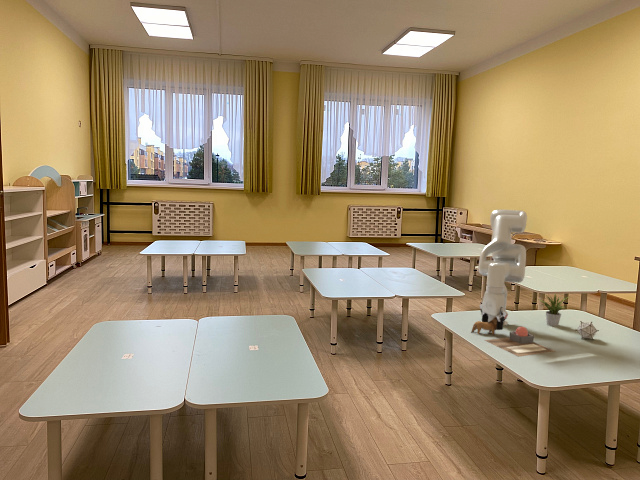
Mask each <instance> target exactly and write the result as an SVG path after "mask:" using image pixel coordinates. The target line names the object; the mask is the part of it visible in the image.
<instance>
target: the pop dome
mask: <svg viewBox="0 0 640 480" xmlns="http://www.w3.org/2000/svg"><path fill="white" fill-rule="evenodd" d="M515 331H516V335H519V336H521V337H523V336H528V333H529V332H528V331H529V330H528V329H527V328H526V327H525V326H518V327H517V328H516V330H515Z"/></svg>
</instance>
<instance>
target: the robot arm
mask: <svg viewBox="0 0 640 480" xmlns="http://www.w3.org/2000/svg"><path fill="white" fill-rule="evenodd" d="M527 221H528V215H527V212H526V211H524V210H516V209H495V210H493V211H492V212H491V213H490V228H491V232H492V235H491V241H490V242H489V243H488V244H487V245H485V246H484V247H483V248H482V250H481V252H480V255H479V261H478V273H479V275H481V276H484V277H487V278H486V286H485V287H486V288H485V291H484V295H483V298H482V303H481V304H479V309H480V315H481V320H480V321H482V322H489V321H491V320H492V319H493V318H494V317H497V319H498V321H497V326H496V329H497V330H496V331H502V330H503V329H504V326H508V324H509V322H508V321H507V320H506V319H507V317H508V315H509V313H508V312H507V310H506V309H507V298H508V297H507V296H508V288H507V286H506V285H505V282H509V283H516V284H517V283H522V282H524V279H525V277H526V276H525V274H526V262H527V261H526V260H527V249H526V247H525V246H524V245H522V244H519V243H518V244H517V243H512V233H520V234H521V233H523V232H525V230H526V227H527ZM490 254H491V257H492V259H493V260H492V259H491V260H490V259H487V257H488V256H489V255H490Z"/></svg>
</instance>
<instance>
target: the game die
mask: <svg viewBox="0 0 640 480" xmlns="http://www.w3.org/2000/svg"><path fill="white" fill-rule="evenodd" d="M574 331H575V332H576V331H577V332H578V334H579V335H580V337H581V340H584V339H591V340H593V341H594V337H595V335H596V333H597V332H599V331H600V330H599V329H597V328H596V327H595V326H594V325H593V321H591V322H582V320H580V324H579V326H578V327H577V329H575V330H574Z"/></svg>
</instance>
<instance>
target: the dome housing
mask: <svg viewBox="0 0 640 480" xmlns="http://www.w3.org/2000/svg"><path fill="white" fill-rule="evenodd" d="M508 337H509V339H511V340H513V341H515V342H517V343H520V344H526V343H533V342H534V338H535V336H534V335H533V334H531V333H529V332H528V336H523V337H521V336H519V335H516V330H515V331H509V336H508Z"/></svg>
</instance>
